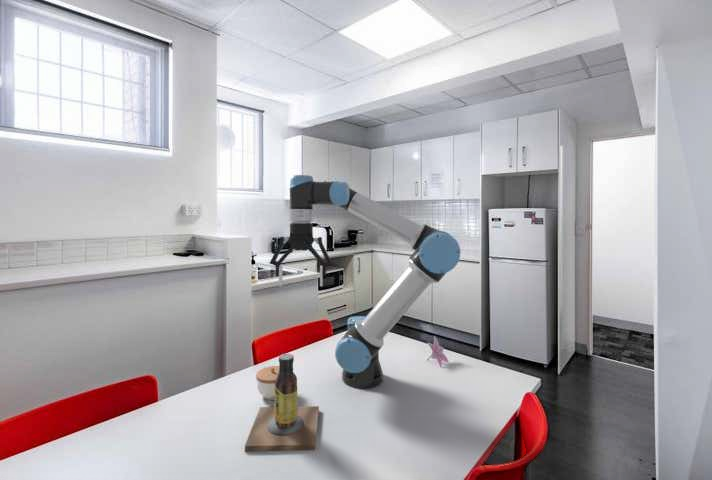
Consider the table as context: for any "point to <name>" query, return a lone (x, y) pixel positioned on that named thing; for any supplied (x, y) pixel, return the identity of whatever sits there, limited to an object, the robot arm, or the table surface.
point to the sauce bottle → (286, 393)
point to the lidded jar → (267, 381)
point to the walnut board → (284, 431)
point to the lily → (437, 352)
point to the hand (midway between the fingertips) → (301, 285)
